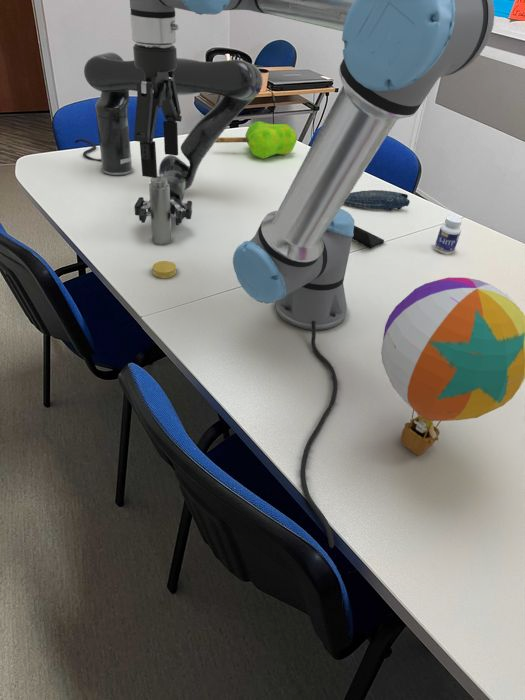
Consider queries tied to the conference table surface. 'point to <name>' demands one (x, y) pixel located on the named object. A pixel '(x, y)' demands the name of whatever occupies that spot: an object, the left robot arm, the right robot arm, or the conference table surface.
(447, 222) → the pill bottle
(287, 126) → the decorative tree
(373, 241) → the handheld gaming console
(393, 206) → the fish model
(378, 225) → the conference table surface
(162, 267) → the lid
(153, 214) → the grey metal canister
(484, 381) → the toy
